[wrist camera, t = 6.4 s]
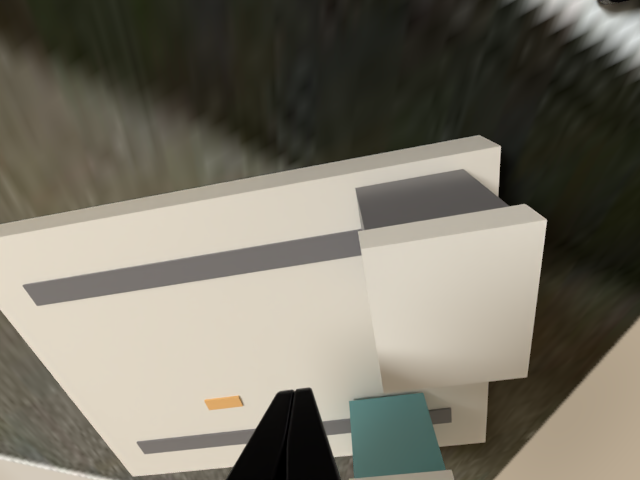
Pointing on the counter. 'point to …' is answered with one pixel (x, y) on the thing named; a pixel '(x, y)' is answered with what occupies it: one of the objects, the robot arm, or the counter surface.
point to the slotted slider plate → (221, 308)
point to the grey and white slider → (449, 280)
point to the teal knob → (395, 440)
